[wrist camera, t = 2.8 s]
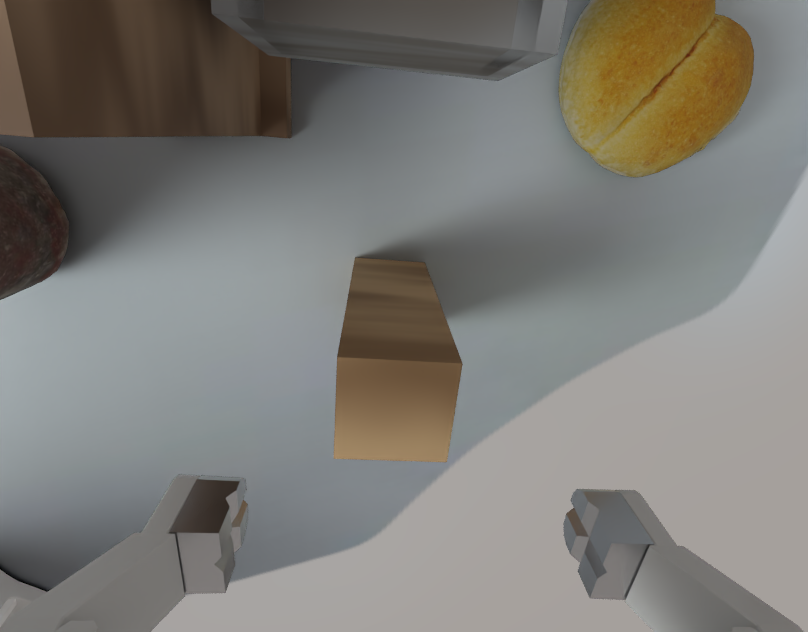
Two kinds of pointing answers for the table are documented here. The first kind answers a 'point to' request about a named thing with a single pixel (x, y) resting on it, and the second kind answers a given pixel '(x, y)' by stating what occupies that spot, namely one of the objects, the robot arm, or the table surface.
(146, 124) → the bracket
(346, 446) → the wooden block
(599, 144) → the bread roll
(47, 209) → the brown rough cylinder
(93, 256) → the table surface
